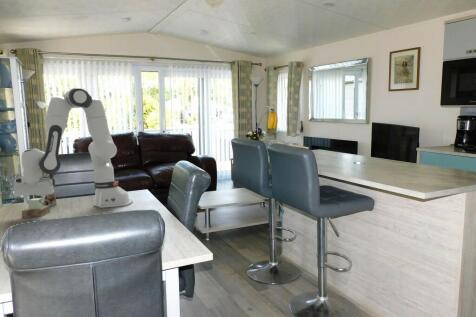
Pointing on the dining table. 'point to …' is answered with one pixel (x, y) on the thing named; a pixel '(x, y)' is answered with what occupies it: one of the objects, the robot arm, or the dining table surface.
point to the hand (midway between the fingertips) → (35, 202)
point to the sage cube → (34, 203)
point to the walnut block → (35, 212)
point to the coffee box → (49, 197)
